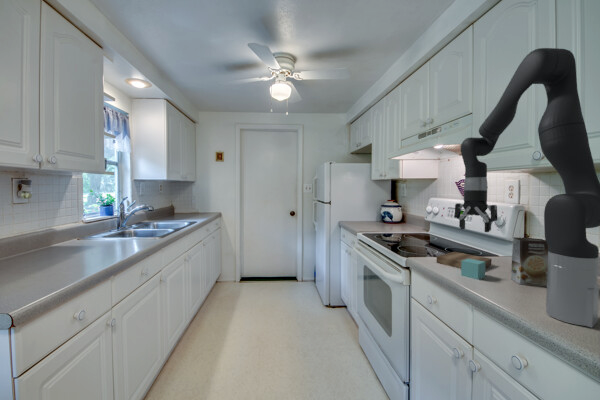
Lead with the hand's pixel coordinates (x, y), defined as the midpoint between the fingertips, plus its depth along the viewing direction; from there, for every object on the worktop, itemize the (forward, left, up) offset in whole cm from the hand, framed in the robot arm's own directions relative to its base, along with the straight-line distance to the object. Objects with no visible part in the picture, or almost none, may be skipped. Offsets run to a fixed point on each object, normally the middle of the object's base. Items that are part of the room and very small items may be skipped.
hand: (474, 230), depth 103 cm
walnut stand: (+10, -14, -18) cm, 25 cm away
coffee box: (-15, -9, -18) cm, 25 cm away
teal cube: (0, 0, -18) cm, 18 cm away
